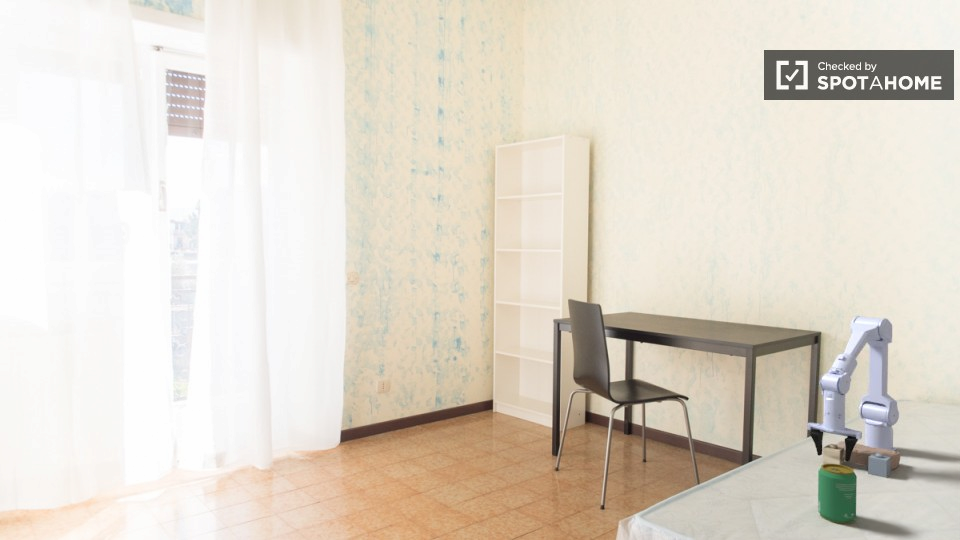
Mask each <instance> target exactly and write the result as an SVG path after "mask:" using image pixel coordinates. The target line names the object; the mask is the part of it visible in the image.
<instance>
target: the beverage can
mask: <svg viewBox="0 0 960 540" xmlns="http://www.w3.org/2000/svg"><path fill="white" fill-rule="evenodd" d="M817 477H818V479H817V481H818V484H817V486H818V487H817V511H818V513H819V516H820V517H821V518H822V519H824V520H826V521H828V522H831V523H835V524H840V525H841V524H842V525H848V524H852V523H854V521H855V520H856V518H857V483H858V482H857V481H858V479H857V478H858V477H857V474H856V473H855V471H854V469H853V468H852V467H849V466H847V465H845V464H843V465H839V464H823V463H822V464H821V466H820V468H819V469H818V475H817Z"/></svg>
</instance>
